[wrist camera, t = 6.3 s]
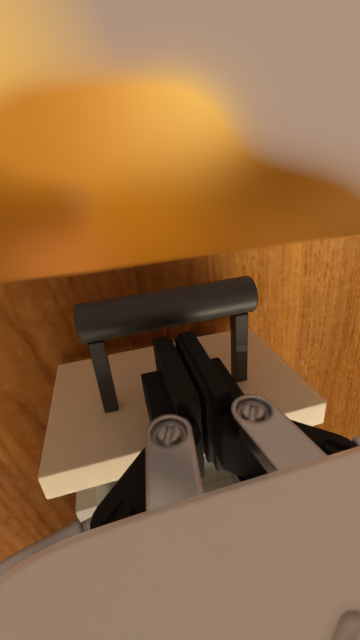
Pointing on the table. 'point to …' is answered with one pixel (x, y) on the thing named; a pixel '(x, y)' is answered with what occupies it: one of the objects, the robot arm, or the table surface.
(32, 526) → the table surface
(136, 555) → the robot arm
